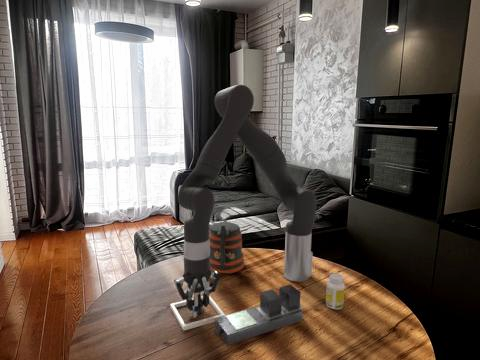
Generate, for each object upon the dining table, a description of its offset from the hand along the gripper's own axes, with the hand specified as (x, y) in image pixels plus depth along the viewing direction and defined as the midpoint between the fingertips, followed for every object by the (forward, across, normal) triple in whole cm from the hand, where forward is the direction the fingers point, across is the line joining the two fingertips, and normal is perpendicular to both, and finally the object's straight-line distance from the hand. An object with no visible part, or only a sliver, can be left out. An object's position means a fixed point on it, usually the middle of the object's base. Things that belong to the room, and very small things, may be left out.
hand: (197, 307), depth 101 cm
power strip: (+2, -14, +13) cm, 19 cm away
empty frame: (+2, 0, 0) cm, 2 cm away
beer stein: (+2, -20, -23) cm, 30 cm away
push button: (+2, 0, 0) cm, 2 cm away
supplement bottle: (+2, -40, +15) cm, 43 cm away
